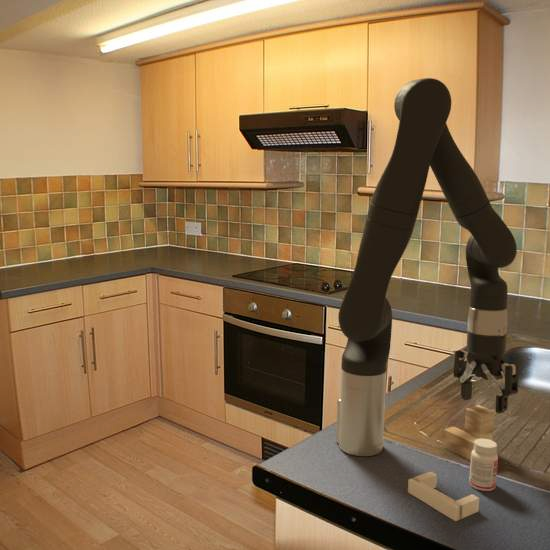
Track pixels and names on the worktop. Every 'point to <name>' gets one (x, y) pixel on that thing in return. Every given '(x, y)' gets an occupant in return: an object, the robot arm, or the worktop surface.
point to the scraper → (469, 431)
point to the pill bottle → (483, 465)
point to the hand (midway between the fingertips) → (483, 405)
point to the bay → (441, 497)
